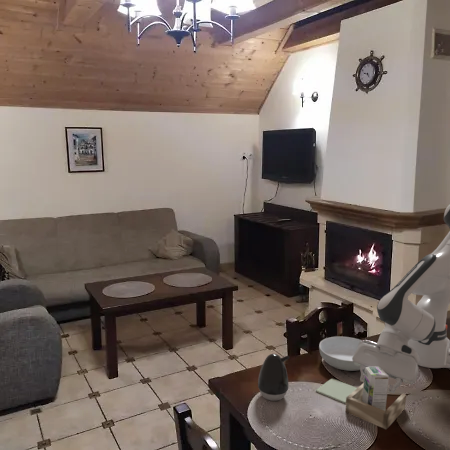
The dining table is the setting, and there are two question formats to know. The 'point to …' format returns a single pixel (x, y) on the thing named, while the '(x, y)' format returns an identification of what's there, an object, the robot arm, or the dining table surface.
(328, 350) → the serving bowl
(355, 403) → the holder bay
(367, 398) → the syrup box
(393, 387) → the robot arm
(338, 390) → the sage mat
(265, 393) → the pump dispenser
